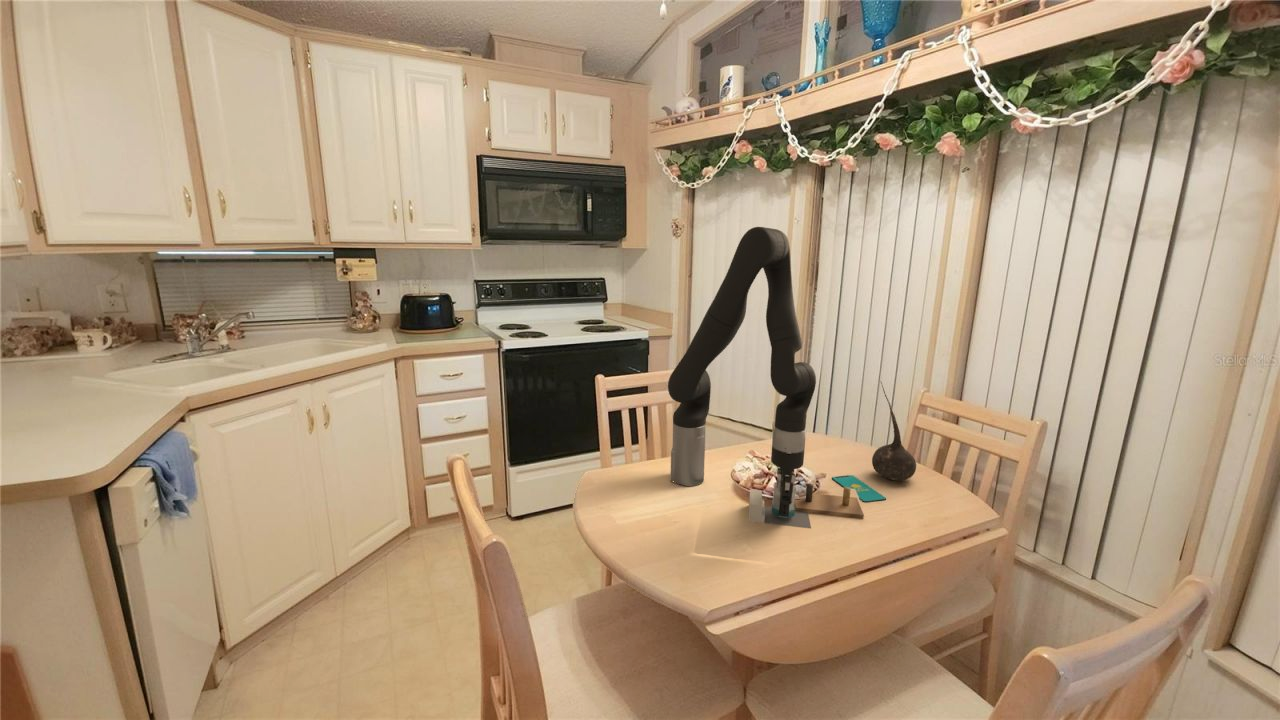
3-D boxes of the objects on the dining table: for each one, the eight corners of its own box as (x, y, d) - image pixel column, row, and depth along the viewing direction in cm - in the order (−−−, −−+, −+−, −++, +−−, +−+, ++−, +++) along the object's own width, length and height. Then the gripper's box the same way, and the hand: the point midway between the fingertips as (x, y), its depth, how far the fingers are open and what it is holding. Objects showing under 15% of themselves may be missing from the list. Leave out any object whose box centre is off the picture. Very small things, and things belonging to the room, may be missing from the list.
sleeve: (771, 515, 123) (773, 489, 121) (771, 505, 128) (773, 479, 127) (794, 518, 122) (797, 492, 120) (793, 507, 127) (795, 482, 125)
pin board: (795, 513, 128) (797, 491, 127) (793, 496, 137) (794, 475, 135) (863, 520, 125) (865, 498, 123) (856, 503, 133) (858, 481, 132)
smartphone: (864, 501, 133) (830, 476, 148) (863, 504, 133) (830, 479, 148) (887, 498, 135) (852, 474, 149) (887, 501, 135) (852, 477, 149)
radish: (855, 472, 152) (865, 375, 145) (894, 468, 155) (906, 372, 148) (881, 489, 141) (893, 385, 134) (923, 484, 144) (936, 382, 138)
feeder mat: (748, 522, 123) (749, 504, 122) (749, 507, 131) (750, 489, 130) (811, 530, 120) (812, 510, 119) (807, 513, 128) (809, 495, 127)
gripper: (771, 433, 129) (766, 494, 133) (772, 455, 115) (767, 522, 119) (802, 436, 127) (796, 497, 131) (807, 458, 114) (801, 527, 117)
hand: (783, 509), depth 125 cm, fingers closed on sleeve, 5 cm apart
